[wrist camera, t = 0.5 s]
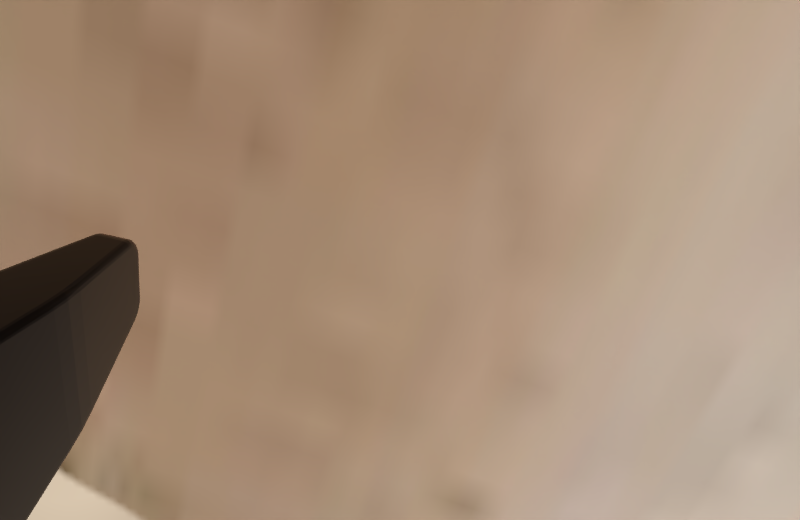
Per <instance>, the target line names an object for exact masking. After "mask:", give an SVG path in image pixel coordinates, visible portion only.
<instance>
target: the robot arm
mask: <svg viewBox="0 0 800 520" xmlns="http://www.w3.org/2000/svg"><path fill="white" fill-rule="evenodd" d="M139 302H140V289H139V263H138V250H137V247H136V245H135V244H134V243H133V242H132V241H131V240H129V239H124V238H120V237H115V236H111V235H106V234H95V235H92V236H89V237H87V238H84V239H81V240H79V241H76V242H74V243H71V244H68V245H66V246H63V247H61V248H58V249H55V250H53V251H50V252H48V253H45V254H42V255H40V256H37V257H35V258H32V259H29V260H27V261H24V262H22V263H19V264H16V265H14V266H11V267H9V268H6V269H3V270H1V271H0V520H27V518H28V517H29V515H30V513H31V512H32V510H33V509H34V507H35V505H36V504H37V502H38V501H39V499H40V497H41V496H42V494H43V493H44V491H45V490H46V488H47V486H48V485H49V483H50V482H51V480H52V478H53V477H54V475H55V474H56V472H57V470H58V469H59V467H60V466H61V464H62V462H63V461H64V459H65V458H66V456H67V455H68V453H69V451H70V450H71V448H72V446H73V445H74V443H75V441H76V440H77V438H78V436H79V435H80V433H81V431H82V429H83V427H84V425H85V423H86V421H87V419H88V418H89V416H90V414H91V412H92V409H93V407H94V405H95V403H96V401H97V399H98V397H99V395H100V393H101V390H102V388H103V386H104V384H105V382H106V380H107V378H108V376H109V374H110V371H111V369H112V367H113V365H114V363H115V361H116V359H117V357H118V355H119V352H120V350H121V348H122V346H123V344H124V342H125V340H126V338H127V336H128V333H129V331H130V329H131V327H132V325H133V323H134V321H135V318H136V316H137V313H138V308H139Z"/></svg>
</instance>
